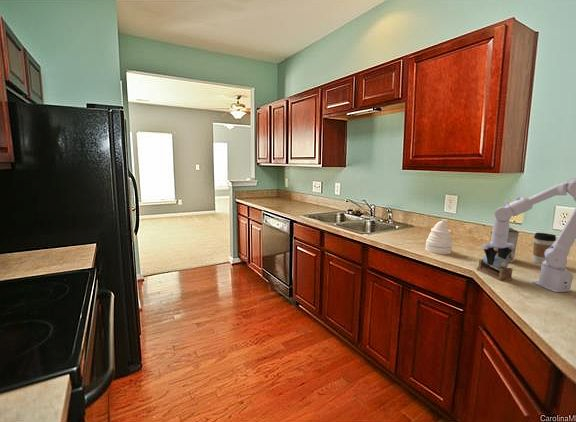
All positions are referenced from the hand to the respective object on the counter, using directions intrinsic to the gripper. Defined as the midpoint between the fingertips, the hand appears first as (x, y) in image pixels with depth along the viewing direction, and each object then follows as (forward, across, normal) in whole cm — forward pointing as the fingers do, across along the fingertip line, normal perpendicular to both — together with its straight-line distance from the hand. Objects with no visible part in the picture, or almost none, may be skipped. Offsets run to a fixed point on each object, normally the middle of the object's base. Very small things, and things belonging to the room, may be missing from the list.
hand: (495, 263), depth 134 cm
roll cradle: (+5, 0, 0) cm, 5 cm away
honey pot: (+5, +2, -35) cm, 35 cm away
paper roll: (+2, 0, 0) cm, 2 cm away
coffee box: (+5, -23, -18) cm, 30 cm away
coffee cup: (+5, -38, -11) cm, 40 cm away
